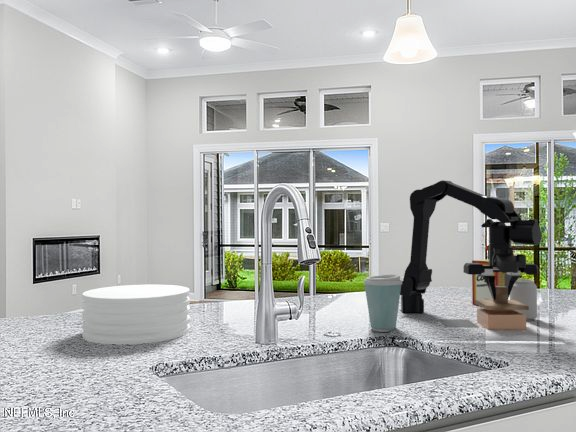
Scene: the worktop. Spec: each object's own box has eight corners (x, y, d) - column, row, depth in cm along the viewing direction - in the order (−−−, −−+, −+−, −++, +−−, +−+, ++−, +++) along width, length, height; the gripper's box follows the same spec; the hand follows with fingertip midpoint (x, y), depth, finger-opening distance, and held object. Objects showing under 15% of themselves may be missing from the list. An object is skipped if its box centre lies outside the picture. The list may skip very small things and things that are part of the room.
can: (540, 322, 151) (539, 281, 151) (512, 321, 152) (512, 280, 153) (533, 317, 158) (533, 278, 158) (507, 316, 160) (507, 277, 160)
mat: (446, 329, 142) (446, 326, 142) (437, 321, 153) (437, 319, 153) (479, 329, 141) (479, 327, 141) (468, 321, 152) (468, 319, 152)
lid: (486, 309, 138) (486, 289, 138) (474, 302, 149) (474, 283, 149) (528, 309, 137) (528, 289, 137) (513, 303, 148) (513, 284, 148)
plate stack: (207, 325, 149) (207, 286, 149) (151, 349, 122) (151, 300, 122) (126, 320, 158) (126, 282, 158) (58, 340, 131) (57, 295, 132)
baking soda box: (507, 306, 179) (507, 260, 179) (497, 308, 175) (496, 261, 175) (482, 302, 186) (482, 258, 186) (472, 304, 182) (472, 259, 182)
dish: (488, 331, 139) (487, 314, 139) (477, 323, 149) (476, 308, 149) (526, 331, 138) (526, 315, 138) (512, 324, 148) (512, 308, 148)
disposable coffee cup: (370, 334, 135) (369, 277, 135) (358, 326, 146) (358, 273, 146) (408, 333, 137) (408, 276, 137) (394, 325, 148) (393, 272, 148)
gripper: (474, 245, 136) (474, 304, 136) (547, 245, 135) (547, 304, 135) (462, 243, 147) (463, 297, 147) (530, 243, 146) (530, 298, 146)
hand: (500, 299), depth 143 cm, fingers closed on lid, 3 cm apart
